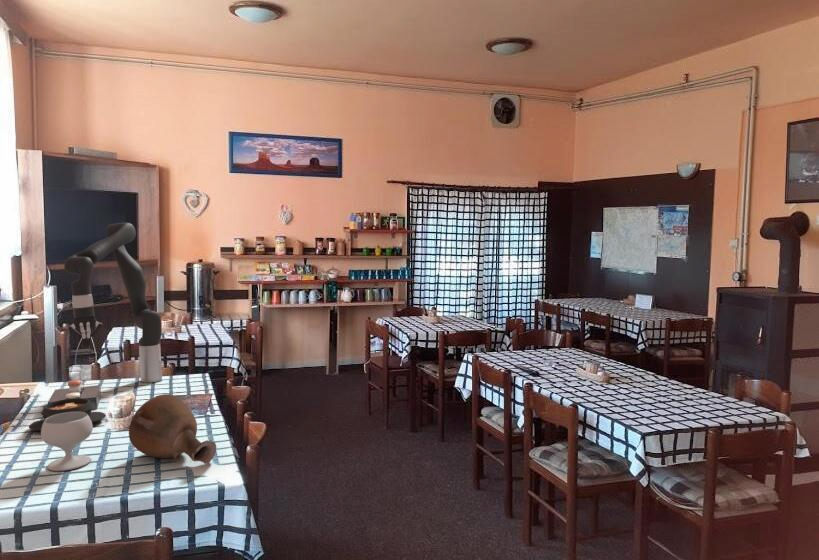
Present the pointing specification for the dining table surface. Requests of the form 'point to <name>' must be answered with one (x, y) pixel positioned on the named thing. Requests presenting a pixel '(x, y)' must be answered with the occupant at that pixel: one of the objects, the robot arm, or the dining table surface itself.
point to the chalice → (67, 438)
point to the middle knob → (74, 386)
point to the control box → (87, 393)
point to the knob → (72, 395)
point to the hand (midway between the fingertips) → (87, 346)
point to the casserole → (67, 410)
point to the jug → (168, 430)
